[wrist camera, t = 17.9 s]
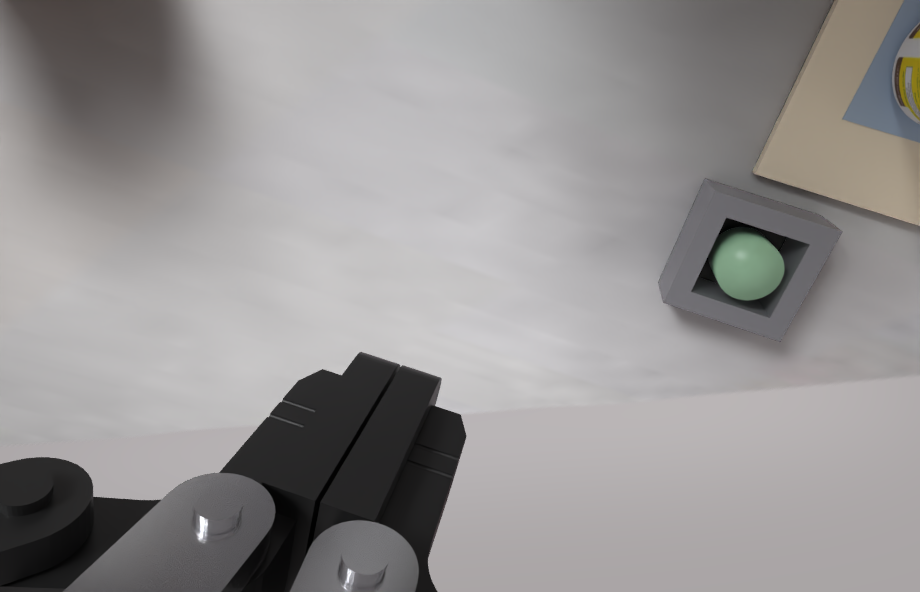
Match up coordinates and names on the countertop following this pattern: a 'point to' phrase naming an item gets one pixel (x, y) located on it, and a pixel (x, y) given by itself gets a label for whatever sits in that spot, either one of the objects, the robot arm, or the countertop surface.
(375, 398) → the robot arm
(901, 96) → the supplement bottle
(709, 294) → the button housing
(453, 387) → the countertop surface
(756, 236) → the button
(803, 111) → the pad
